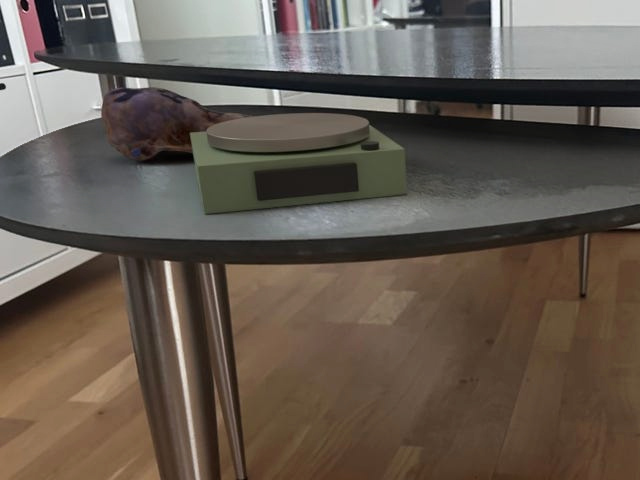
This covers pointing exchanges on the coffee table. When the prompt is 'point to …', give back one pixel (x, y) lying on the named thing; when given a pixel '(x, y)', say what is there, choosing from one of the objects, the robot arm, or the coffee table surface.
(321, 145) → the scale pan
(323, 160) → the scale
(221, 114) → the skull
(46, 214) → the coffee table surface
